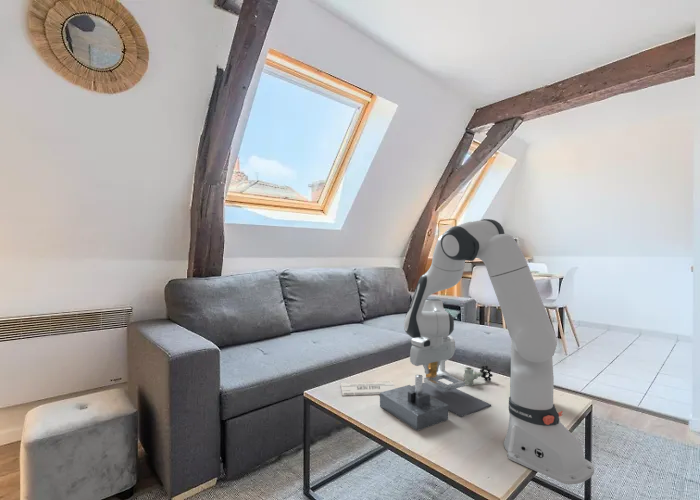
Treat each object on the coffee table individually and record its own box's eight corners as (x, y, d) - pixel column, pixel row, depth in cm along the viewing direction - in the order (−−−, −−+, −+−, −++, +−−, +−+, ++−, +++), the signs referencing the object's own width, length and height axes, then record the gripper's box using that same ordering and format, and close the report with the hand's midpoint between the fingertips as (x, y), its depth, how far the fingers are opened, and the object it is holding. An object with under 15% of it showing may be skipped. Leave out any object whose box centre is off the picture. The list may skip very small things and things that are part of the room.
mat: (491, 406, 133) (491, 404, 133) (460, 417, 125) (460, 415, 125) (435, 380, 157) (435, 379, 157) (407, 388, 148) (407, 387, 148)
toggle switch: (448, 419, 123) (448, 378, 122) (417, 430, 116) (417, 387, 115) (409, 397, 140) (409, 361, 140) (379, 406, 133) (380, 368, 132)
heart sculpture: (456, 377, 160) (456, 337, 160) (446, 379, 159) (446, 338, 159) (438, 366, 175) (439, 329, 175) (429, 367, 174) (429, 329, 174)
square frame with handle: (464, 385, 140) (465, 367, 140) (444, 391, 134) (445, 373, 134) (438, 374, 152) (438, 357, 151) (418, 379, 146) (418, 362, 146)
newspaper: (391, 383, 155) (391, 378, 155) (397, 398, 143) (397, 392, 143) (338, 384, 153) (338, 379, 153) (339, 400, 141) (339, 394, 141)
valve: (470, 387, 150) (492, 383, 155) (470, 371, 150) (492, 368, 155) (459, 381, 156) (481, 377, 161) (459, 366, 156) (481, 363, 161)
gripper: (444, 333, 155) (443, 365, 155) (407, 340, 144) (407, 374, 145) (455, 337, 150) (455, 370, 150) (418, 344, 139) (418, 379, 139)
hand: (431, 372), depth 147 cm, fingers closed on square frame with handle, 3 cm apart
